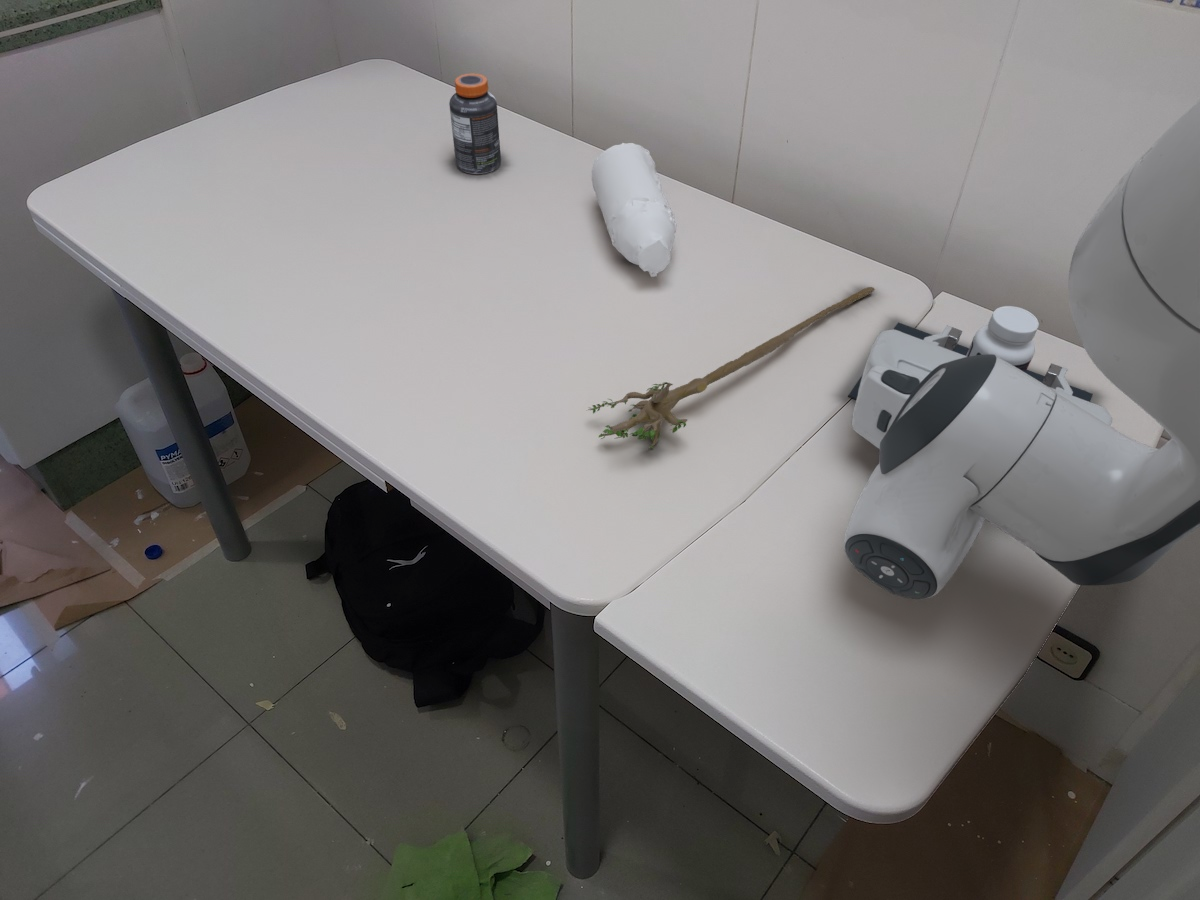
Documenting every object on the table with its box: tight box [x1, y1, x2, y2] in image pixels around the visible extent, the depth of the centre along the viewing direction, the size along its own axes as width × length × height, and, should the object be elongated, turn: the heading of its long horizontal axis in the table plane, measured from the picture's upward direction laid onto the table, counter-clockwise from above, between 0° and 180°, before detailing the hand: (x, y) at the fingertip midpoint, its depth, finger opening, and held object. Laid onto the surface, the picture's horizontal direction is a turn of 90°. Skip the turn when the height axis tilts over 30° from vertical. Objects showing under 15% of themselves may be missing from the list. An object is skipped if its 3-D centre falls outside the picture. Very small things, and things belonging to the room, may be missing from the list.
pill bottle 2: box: [966, 305, 1040, 372], centre depth 82 cm, size 5×5×10 cm
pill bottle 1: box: [448, 72, 502, 175], centre depth 112 cm, size 6×6×11 cm
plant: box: [585, 286, 875, 451], centre depth 85 cm, size 39×8×8 cm, turn 125°
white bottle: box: [591, 141, 678, 278], centre depth 101 cm, size 8×19×8 cm, turn 9°
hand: (1003, 352), depth 80 cm, fingers open, 8 cm apart
